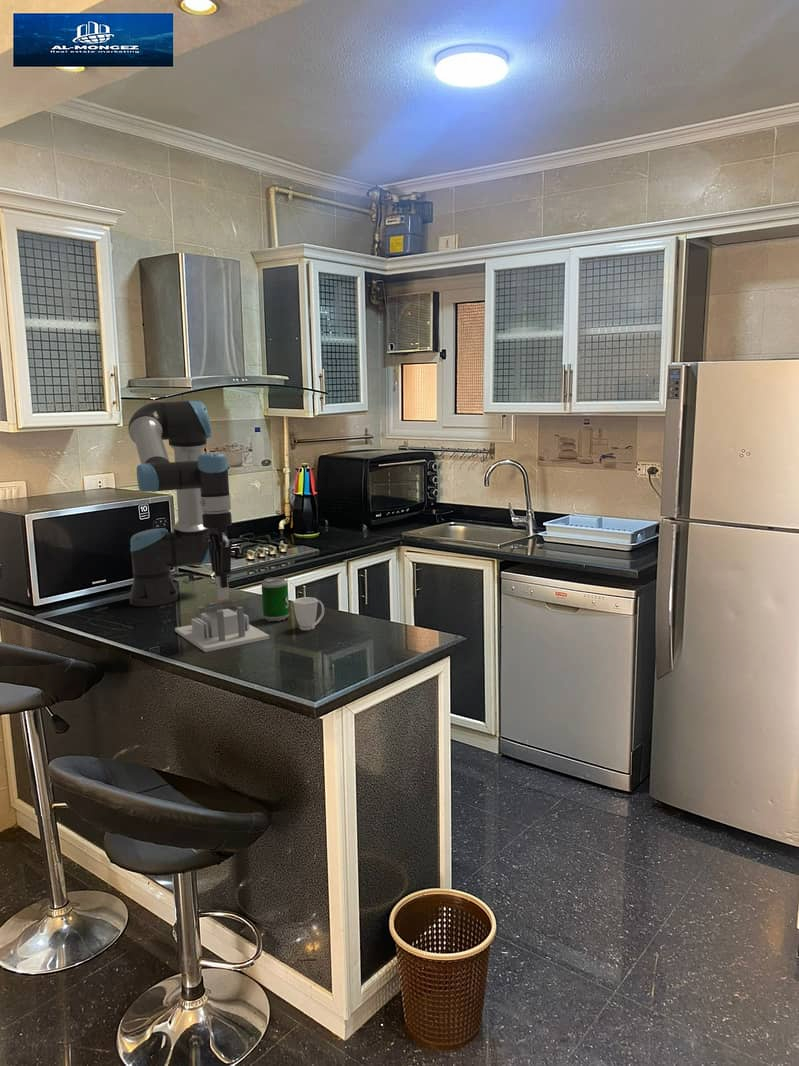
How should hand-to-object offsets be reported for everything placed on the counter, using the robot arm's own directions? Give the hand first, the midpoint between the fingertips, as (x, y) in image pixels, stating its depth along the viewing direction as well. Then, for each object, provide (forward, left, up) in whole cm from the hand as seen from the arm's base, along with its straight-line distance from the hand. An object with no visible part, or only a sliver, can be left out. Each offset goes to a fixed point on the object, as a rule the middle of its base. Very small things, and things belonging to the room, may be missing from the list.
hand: (223, 598), depth 212 cm
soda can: (-9, +19, -11) cm, 24 cm away
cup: (+5, +23, -11) cm, 26 cm away
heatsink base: (-4, 0, -11) cm, 12 cm away
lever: (-5, 0, -3) cm, 5 cm away
